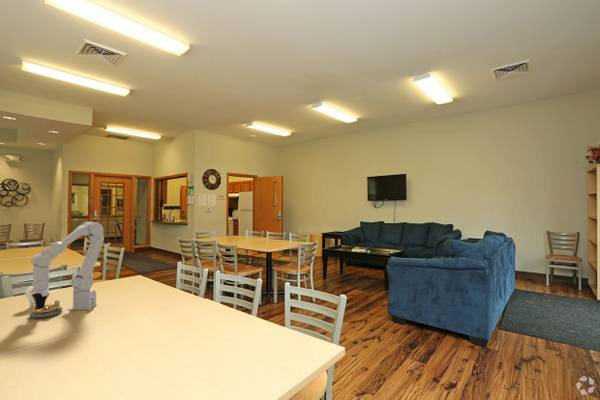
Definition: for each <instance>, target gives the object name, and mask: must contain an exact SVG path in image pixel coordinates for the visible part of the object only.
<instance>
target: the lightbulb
mask: <svg viewBox="0 0 600 400" xmlns="http://www.w3.org/2000/svg"><path fill="white" fill-rule="evenodd" d="M30 290H33V285H31V286H29V287H28V288H26V289H25V292H24V295H25V297H26V298H27V301H28V303H29V308H32V309H33V306H35V305H36V304H35V300H34V298H33V296H32V294H36V293H34V292H32V293H30V292H29V291H30Z"/></svg>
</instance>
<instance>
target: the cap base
mask: <svg viewBox="0 0 600 400" xmlns="http://www.w3.org/2000/svg"><path fill="white" fill-rule="evenodd" d="M62 313H63V307H62V306H60V308H59V309H58V310H56V311H53V312H48V313H42V314H35V313H33V310H31V311H30V312H29V319H31V320H42V319H43V320H44V319H48V318H53V317H56V316H60V315H61V314H62Z"/></svg>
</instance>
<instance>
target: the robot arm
mask: <svg viewBox="0 0 600 400" xmlns="http://www.w3.org/2000/svg"><path fill="white" fill-rule="evenodd" d="M104 230H105V228H104V227H103V225H102V224H101V223H100V222H95V221H94V222H92V221H85V222H83V223H82V224H80V225H78V226H77V227H76V228H75V229H73V231H72V232H70V233H69V234H68V235H67V236H66V237H64V238H63V239H62V240H60V241H55V242H51V243H49V246H48V247H46V248H45V249H44V250H41V251H40V253H37V254H35V255H33V256H32V259H31V260H30V262H31V264H32V265H33V267H32V268H33V269H32V286H33V290H30V291H29V292H30V293H32V292H34V293H36V294H32V296H33V298H34V300H35V304H36V308H37V309H38V310H39V309H43V308H44V305H46V301H47V299H48V298H49V295H50V293H49V290H50V287H49V284H50V283H49V280H50V279H49V277H50V265H51V263H52V261H53V260H54V259H56V258H57V257H58V256H59V255H61V254H63V252H65V251H66V247H67V246H69V245H70V244H72V243H73V242H74V241H76V240H77V239H79V238H80V237H83V236H87V237H88V238H89V240H91V241H90V244H89V246H88V249H87V252H86V254H85V257H84V259H83V262H82V264H81V268H80V269H79V271H78V272H76V274H75V276H74V277H73V278H72V279H71V282H70V285H71V286H72V288H73V289H72V307H69V308H68V311H70V310H72V311H73V310H74V311H75V310H77V311H78V310H80V311H81V310H82V311H84V310H85V311H86V310H87V311H88V310H89V309H91V308H93V307H95V306H97V305H98V304H97V291H96V290H94V289H91V288H92V287H93V286H94V280H93V279H94V274H93V271H94V268H95V266H96V263H97V260H98V258H99V255H100V252H101V250H102V248H103V247H102V246H103V243H104V241H105V235H104Z"/></svg>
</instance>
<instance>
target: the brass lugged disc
mask: <svg viewBox="0 0 600 400" xmlns="http://www.w3.org/2000/svg"><path fill="white" fill-rule="evenodd" d="M60 307H61V305H60V300H58V299H55V300H54V303H50V304H49V303H48V304H45V305H44V308H43V309H39V310H38V309H37V308H36V305H35V306H33V308H32V311H33V313H35V314H42V313H48V312H53V311H56V310H58V309H59V308H60Z"/></svg>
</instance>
